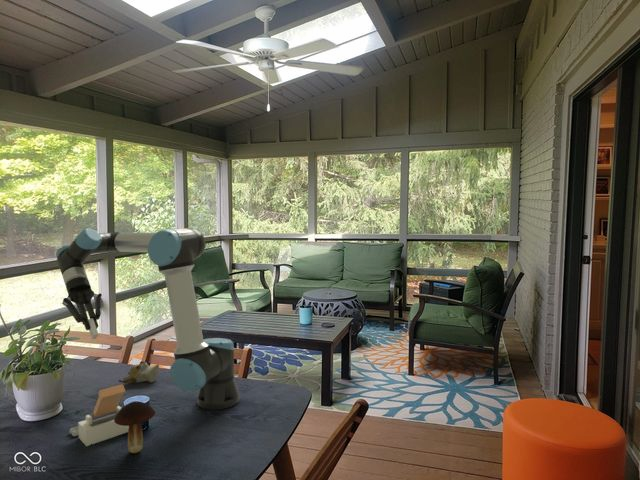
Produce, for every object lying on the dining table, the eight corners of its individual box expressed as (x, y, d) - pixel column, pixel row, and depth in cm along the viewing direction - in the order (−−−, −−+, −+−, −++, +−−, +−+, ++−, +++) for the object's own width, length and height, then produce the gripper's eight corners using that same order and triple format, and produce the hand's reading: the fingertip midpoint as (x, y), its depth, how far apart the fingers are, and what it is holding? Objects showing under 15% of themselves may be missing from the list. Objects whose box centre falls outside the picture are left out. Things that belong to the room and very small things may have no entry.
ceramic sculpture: (153, 364, 181) (116, 367, 181) (155, 386, 182) (118, 388, 182) (162, 356, 192) (127, 358, 192) (164, 376, 193) (129, 378, 193)
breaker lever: (90, 414, 142) (99, 390, 135) (113, 407, 147) (123, 383, 140) (92, 422, 141) (101, 397, 134) (116, 414, 145) (125, 391, 138)
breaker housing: (68, 433, 144) (67, 410, 144) (117, 418, 155) (116, 397, 154) (81, 447, 136) (80, 423, 135) (131, 430, 146) (130, 408, 145)
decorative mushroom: (115, 465, 126) (113, 413, 125) (115, 446, 136) (113, 397, 135) (157, 457, 131) (155, 406, 130) (154, 439, 141) (153, 391, 140)
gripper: (93, 286, 172) (112, 338, 162) (55, 291, 163) (72, 346, 153) (98, 274, 168) (117, 326, 158) (58, 278, 159) (76, 334, 149)
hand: (95, 336), depth 155 cm, fingers closed
